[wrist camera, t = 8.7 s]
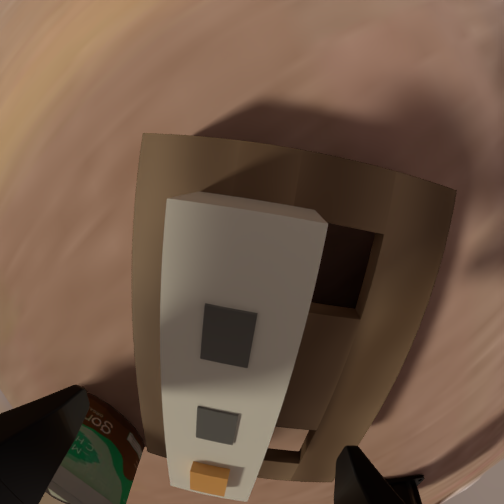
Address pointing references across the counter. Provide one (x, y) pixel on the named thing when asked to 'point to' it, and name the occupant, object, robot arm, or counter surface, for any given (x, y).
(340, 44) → the counter surface
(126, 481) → the food container
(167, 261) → the power strip
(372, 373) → the keyhole board
